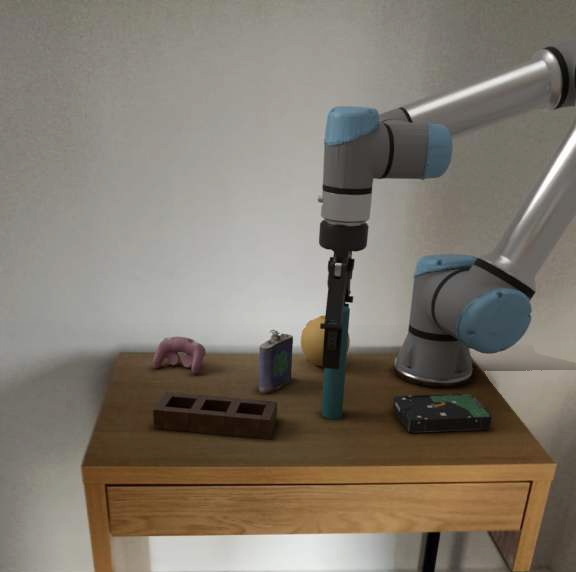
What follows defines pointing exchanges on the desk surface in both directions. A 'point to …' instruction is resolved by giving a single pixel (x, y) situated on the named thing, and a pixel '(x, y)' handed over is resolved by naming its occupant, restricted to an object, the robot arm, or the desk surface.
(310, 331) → the stress ball
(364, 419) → the desk surface
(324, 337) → the robot arm
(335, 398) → the dowel
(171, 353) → the video game controller
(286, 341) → the flask
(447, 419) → the disk drive
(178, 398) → the pen block
